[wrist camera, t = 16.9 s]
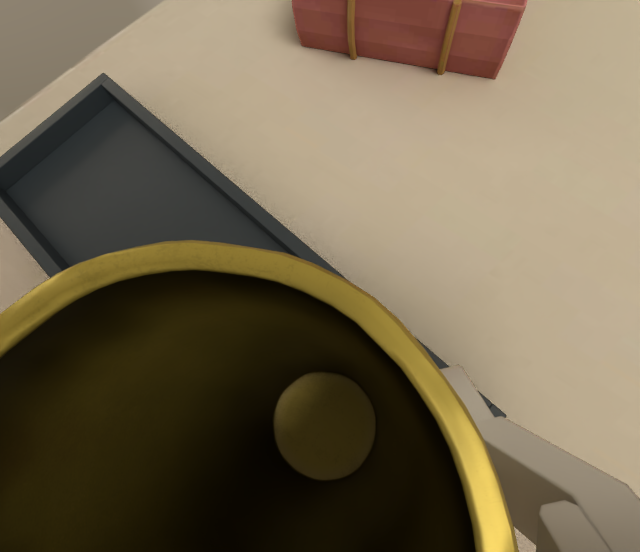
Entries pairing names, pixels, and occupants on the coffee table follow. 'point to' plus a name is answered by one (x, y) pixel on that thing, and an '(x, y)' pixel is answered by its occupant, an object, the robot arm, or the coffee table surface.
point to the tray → (127, 189)
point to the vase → (231, 415)
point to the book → (414, 31)
